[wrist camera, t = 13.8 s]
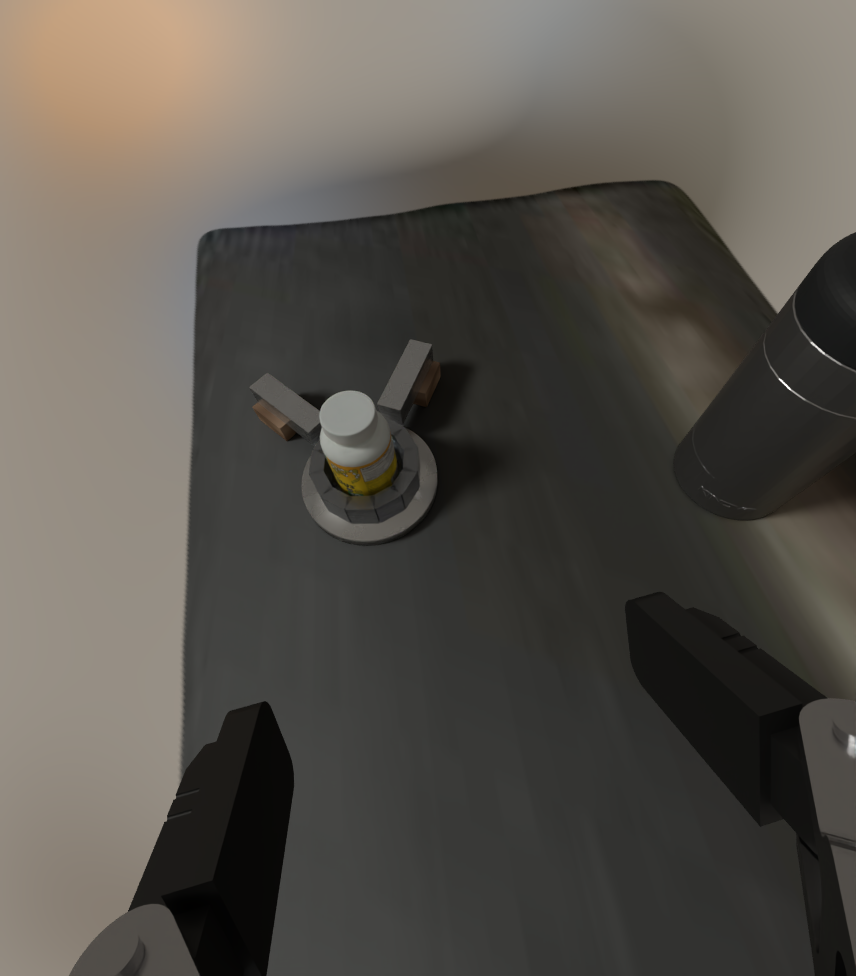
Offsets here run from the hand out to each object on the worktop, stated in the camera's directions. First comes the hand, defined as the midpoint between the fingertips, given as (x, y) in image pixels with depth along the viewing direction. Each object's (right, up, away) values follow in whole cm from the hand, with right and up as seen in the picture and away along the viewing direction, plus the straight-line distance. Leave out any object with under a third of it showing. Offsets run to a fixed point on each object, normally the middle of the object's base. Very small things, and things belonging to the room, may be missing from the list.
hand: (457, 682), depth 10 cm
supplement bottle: (-6, +5, +32) cm, 33 cm away
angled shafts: (-8, +14, +35) cm, 39 cm away
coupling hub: (-6, +5, +33) cm, 34 cm away
